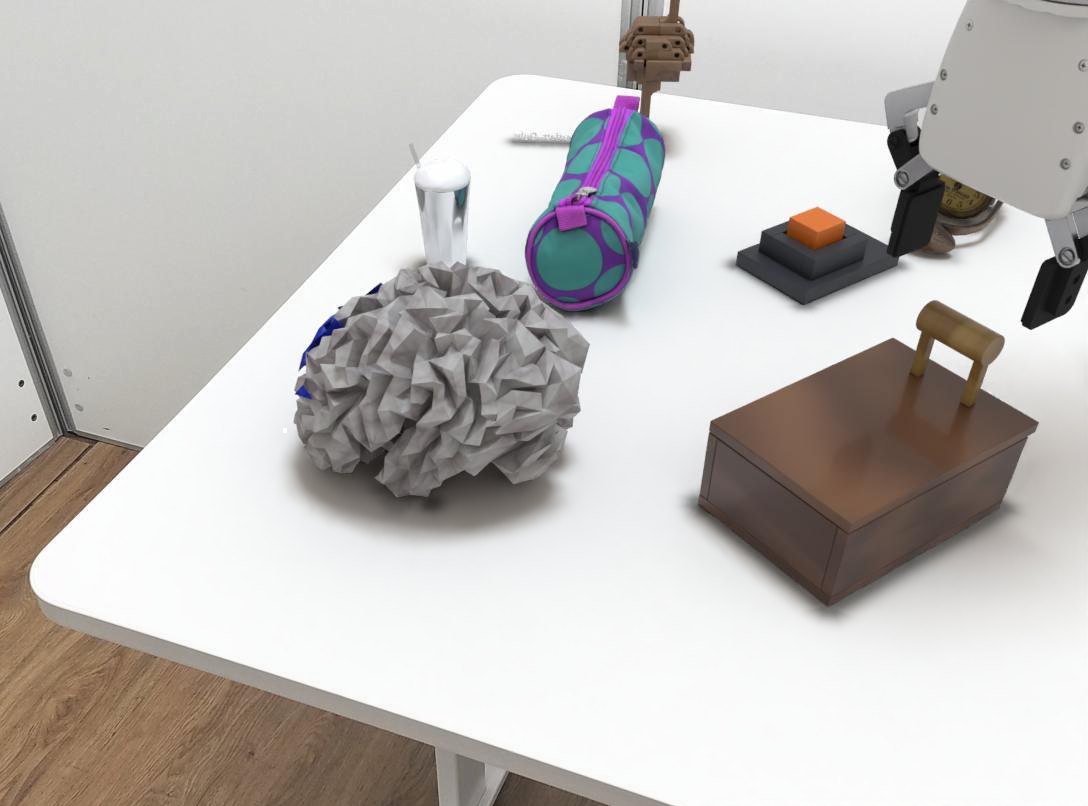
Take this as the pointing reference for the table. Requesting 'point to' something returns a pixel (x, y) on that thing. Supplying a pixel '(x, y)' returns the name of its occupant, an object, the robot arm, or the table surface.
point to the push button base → (814, 262)
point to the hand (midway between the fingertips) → (971, 284)
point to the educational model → (441, 379)
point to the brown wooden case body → (823, 547)
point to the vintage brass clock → (959, 214)
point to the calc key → (816, 228)
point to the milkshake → (443, 208)
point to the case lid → (880, 422)
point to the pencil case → (597, 209)
